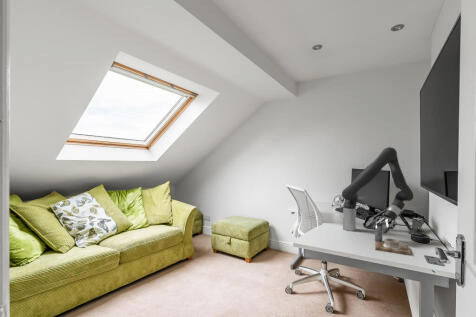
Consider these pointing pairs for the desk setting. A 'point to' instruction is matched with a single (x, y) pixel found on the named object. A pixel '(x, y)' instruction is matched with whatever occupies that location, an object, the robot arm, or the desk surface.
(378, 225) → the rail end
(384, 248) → the cup bracket
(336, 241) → the desk surface
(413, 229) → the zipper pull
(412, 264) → the desk surface
